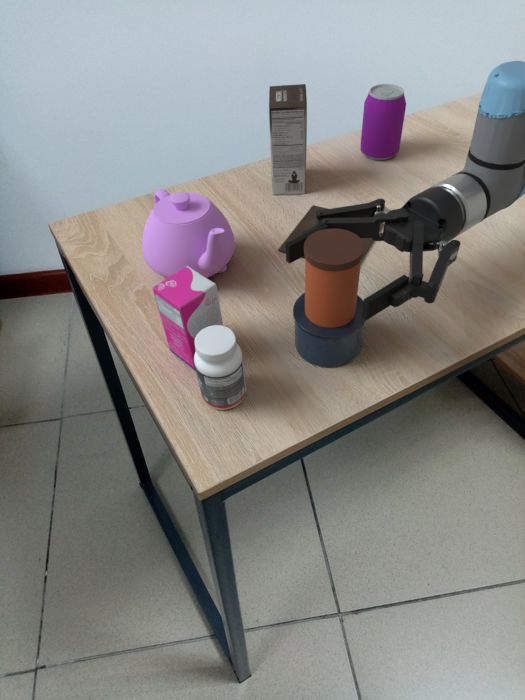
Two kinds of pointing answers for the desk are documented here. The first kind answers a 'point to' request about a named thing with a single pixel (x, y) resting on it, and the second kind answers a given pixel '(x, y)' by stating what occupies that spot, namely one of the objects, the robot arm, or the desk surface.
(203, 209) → the teapot
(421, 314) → the desk surface
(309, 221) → the plate
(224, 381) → the pill bottle
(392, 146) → the beverage can
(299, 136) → the coffee box
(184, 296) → the supplement box
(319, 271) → the canister
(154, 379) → the desk surface
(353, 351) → the tin
